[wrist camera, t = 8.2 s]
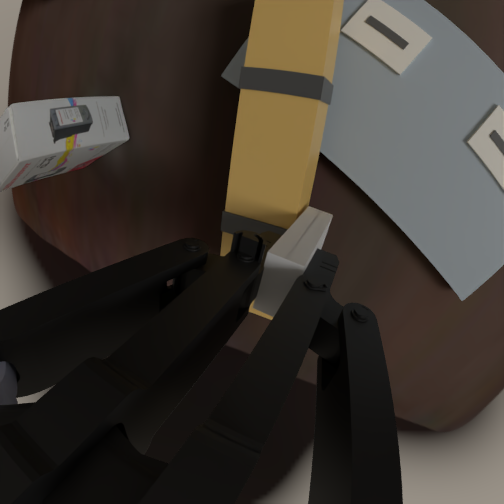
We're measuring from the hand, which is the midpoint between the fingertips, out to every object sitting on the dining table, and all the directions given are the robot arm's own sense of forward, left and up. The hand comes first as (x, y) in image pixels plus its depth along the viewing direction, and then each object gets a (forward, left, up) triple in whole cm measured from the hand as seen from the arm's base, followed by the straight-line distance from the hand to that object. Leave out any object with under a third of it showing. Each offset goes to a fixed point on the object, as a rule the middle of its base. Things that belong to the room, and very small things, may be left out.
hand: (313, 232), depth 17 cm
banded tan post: (-5, +3, -2) cm, 6 cm away
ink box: (-21, -8, -5) cm, 23 cm away
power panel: (0, +10, -4) cm, 11 cm away
